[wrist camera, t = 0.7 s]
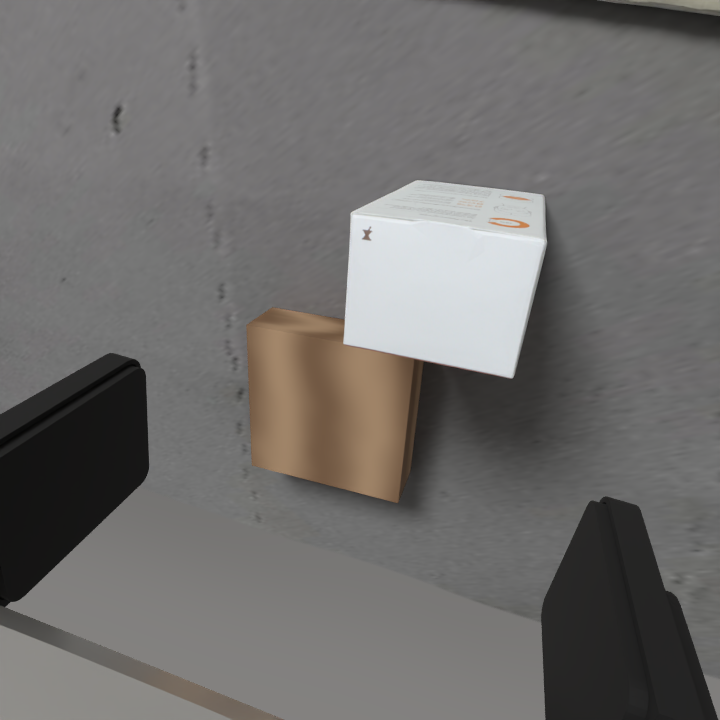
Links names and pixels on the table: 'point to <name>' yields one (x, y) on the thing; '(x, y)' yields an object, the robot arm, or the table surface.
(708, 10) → the decorative slab
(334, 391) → the walnut base
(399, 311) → the small box
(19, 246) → the table surface
